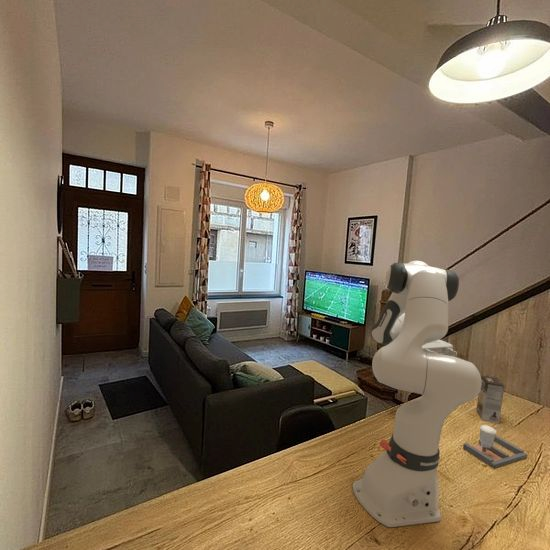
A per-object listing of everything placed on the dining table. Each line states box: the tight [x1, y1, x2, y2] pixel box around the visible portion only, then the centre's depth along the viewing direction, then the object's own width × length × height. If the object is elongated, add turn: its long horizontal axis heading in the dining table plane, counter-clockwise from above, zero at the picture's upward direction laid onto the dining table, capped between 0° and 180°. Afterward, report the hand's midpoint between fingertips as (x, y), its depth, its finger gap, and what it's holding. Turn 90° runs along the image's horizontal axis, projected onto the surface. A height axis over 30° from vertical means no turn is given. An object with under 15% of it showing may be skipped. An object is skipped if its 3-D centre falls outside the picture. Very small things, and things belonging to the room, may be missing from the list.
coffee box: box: [475, 374, 506, 424], centre depth 132 cm, size 9×6×16 cm
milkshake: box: [479, 424, 500, 456], centre depth 105 cm, size 4×5×10 cm
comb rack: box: [462, 435, 528, 469], centre depth 106 cm, size 18×10×2 cm, turn 113°
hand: (447, 355), depth 120 cm, fingers open, 8 cm apart
